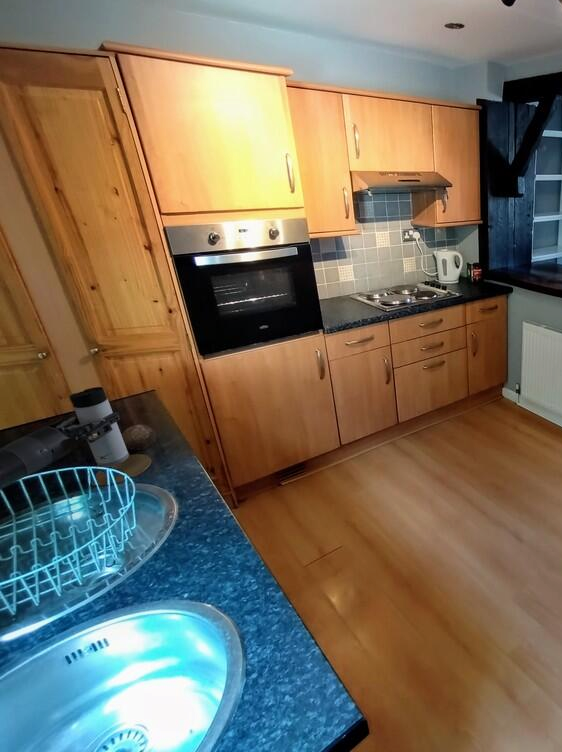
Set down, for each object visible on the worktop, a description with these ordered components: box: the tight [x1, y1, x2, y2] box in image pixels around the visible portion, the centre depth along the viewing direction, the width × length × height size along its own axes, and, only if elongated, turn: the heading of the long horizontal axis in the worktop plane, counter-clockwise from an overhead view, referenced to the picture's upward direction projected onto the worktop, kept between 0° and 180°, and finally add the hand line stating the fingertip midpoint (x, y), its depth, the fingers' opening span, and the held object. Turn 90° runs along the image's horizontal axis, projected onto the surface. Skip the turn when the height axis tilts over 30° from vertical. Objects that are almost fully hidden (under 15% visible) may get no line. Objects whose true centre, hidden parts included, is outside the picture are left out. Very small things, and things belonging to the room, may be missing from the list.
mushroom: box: [121, 424, 158, 451], centre depth 126 cm, size 8×8×6 cm
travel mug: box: [69, 386, 130, 467], centre depth 111 cm, size 6×7×20 cm
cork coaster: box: [86, 453, 152, 487], centre depth 117 cm, size 13×13×1 cm
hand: (105, 414), depth 112 cm, fingers closed on travel mug, 6 cm apart
